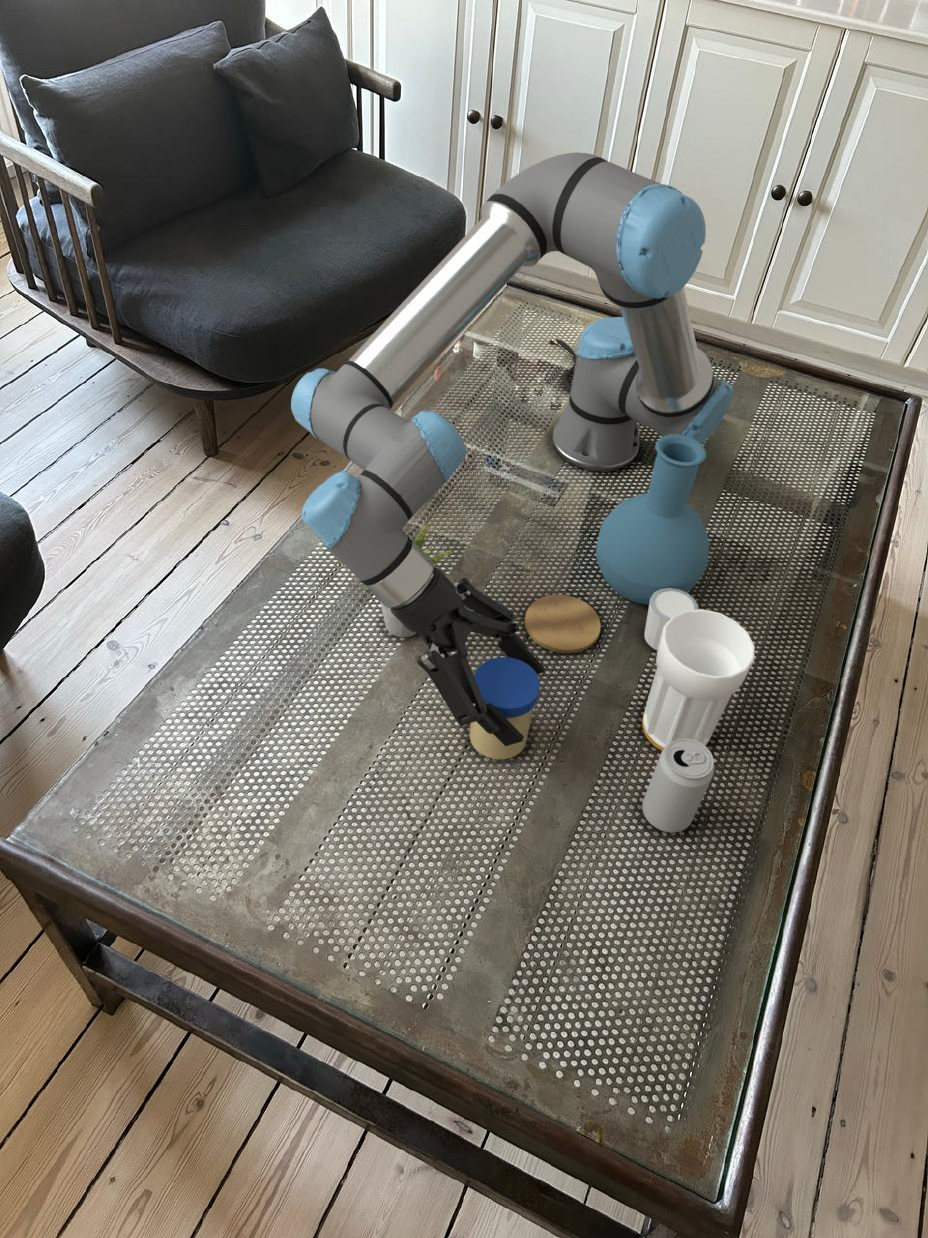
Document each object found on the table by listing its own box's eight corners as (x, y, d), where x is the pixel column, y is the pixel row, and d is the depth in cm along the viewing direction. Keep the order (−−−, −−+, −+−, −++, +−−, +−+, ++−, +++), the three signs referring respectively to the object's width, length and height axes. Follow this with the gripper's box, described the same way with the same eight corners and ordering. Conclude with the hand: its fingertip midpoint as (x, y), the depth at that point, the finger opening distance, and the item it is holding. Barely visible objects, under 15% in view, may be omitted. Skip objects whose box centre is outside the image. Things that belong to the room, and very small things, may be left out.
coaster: (512, 607, 145) (513, 604, 144) (578, 591, 148) (579, 587, 148) (545, 661, 138) (545, 657, 137) (613, 642, 142) (614, 638, 141)
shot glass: (690, 628, 145) (702, 595, 139) (682, 661, 140) (694, 628, 135) (645, 615, 146) (655, 581, 141) (635, 647, 141) (645, 613, 136)
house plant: (370, 679, 134) (371, 595, 122) (331, 611, 142) (329, 526, 130) (463, 647, 139) (473, 563, 127) (421, 583, 147) (426, 499, 135)
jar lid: (552, 696, 122) (554, 686, 121) (504, 729, 118) (505, 720, 117) (506, 656, 126) (508, 647, 125) (458, 687, 122) (460, 677, 121)
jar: (460, 721, 130) (466, 669, 122) (512, 706, 132) (521, 654, 124) (483, 766, 125) (490, 715, 117) (536, 750, 128) (547, 699, 120)
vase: (708, 566, 154) (754, 435, 136) (679, 635, 143) (725, 503, 125) (609, 531, 158) (641, 400, 140) (574, 596, 147) (603, 462, 129)
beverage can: (636, 792, 124) (656, 735, 115) (685, 790, 125) (709, 734, 116) (646, 836, 120) (668, 781, 111) (697, 835, 121) (723, 779, 112)
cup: (630, 692, 135) (657, 605, 123) (711, 698, 136) (747, 612, 123) (637, 760, 128) (667, 674, 115) (723, 766, 128) (763, 681, 115)
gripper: (420, 535, 124) (524, 649, 133) (354, 668, 108) (478, 786, 117) (463, 513, 119) (569, 632, 128) (401, 648, 104) (527, 773, 113)
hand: (525, 706), depth 123 cm, fingers open, 11 cm apart
